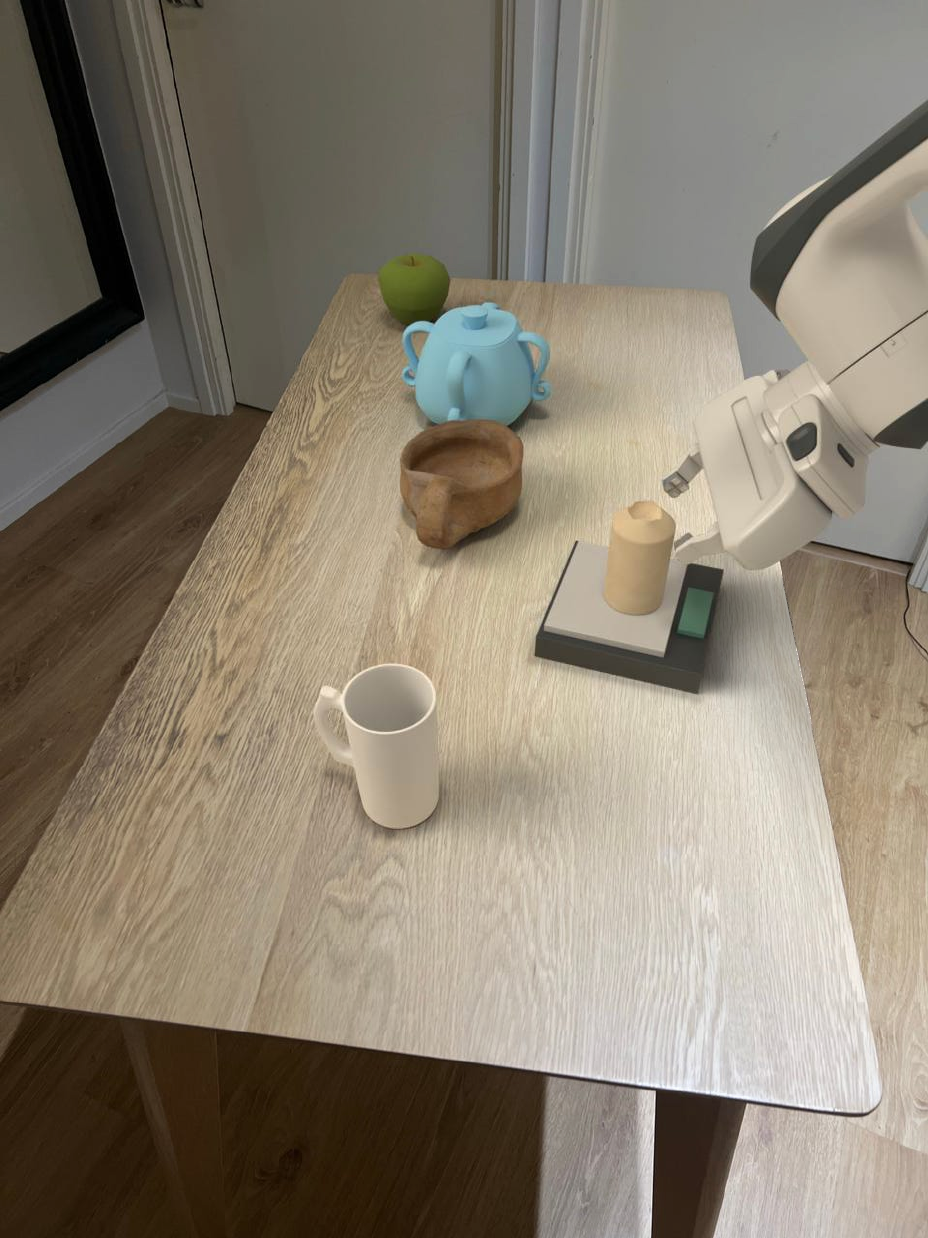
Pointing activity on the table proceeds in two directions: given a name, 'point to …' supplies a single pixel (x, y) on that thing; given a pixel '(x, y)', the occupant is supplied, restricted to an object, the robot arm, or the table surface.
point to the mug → (387, 741)
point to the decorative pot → (475, 366)
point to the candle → (639, 558)
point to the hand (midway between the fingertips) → (672, 520)
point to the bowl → (460, 478)
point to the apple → (414, 287)
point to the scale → (631, 623)
